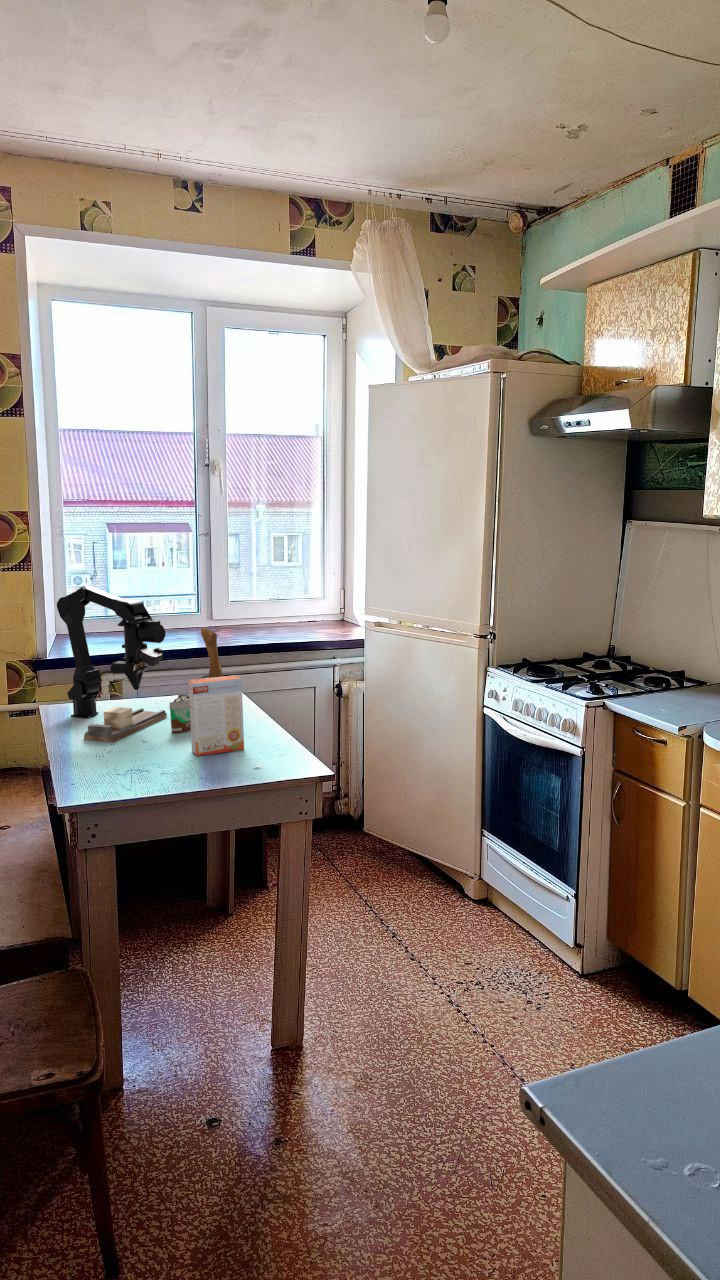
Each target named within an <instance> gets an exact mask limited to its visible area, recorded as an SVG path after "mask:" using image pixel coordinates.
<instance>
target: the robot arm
mask: <svg viewBox="0 0 720 1280" xmlns="http://www.w3.org/2000/svg"><path fill="white" fill-rule="evenodd" d="M90 603H93V604H95V605H99V606H101V607H104V608H106V609H109V610H111V611H113V612H114V613H115V615H116V616H117V617H119V618H120V619H121V621H120V622H119V623H117V626H118V627H123V635H124V636H123V639H124V641H123V643H124V644H121V649H124V657H122V660H118V661H115V662H112V663H111V664H110V665H109V668H110V671H109V672H110V673H116V674H117V673H118V674H124V675H125V676H126V678H127V680H128V681H129V682H130V685H131V686H132V688H133V690H134V691H138V690H139V689H140V685H141V681H142V677H143V675H144V672H145V671H146V670H148V669H149V667H155V666H156V665H160V661H161V659H163V658H164V655H163V649H162V648H160V647H155V648H154V649H152V648H151V649H150V648H148V644H147V643H154V644H155V643H156V644H161V643H163V642H164V640H165V638H166V630H165V627H164V626H163V625H162V624H161V620H153V618H152V616H151V615H150V613H149V612H148V610H147V608H146V607H145V605H144V602H143V601H142V600H140V599H134V598H124V597H119V596H117V595H116V594H115V595H114V594H113V593H109V592H106V591H104V590H102V589H99V588H96V587H95V586H93V585H88V586H87V585H86V586H81V587H79V588H78V589H77V590H76V591H73V592H71V593H69V594H67V595H65V596H62V597H60V598H59V599H58V601H57V602H56V608H57V609H56V610H57V612H58V614H59V617H60V619H61V620H62V621H63V622H64V623H65V625H66V627H67V632H68V637H69V642H70V648H71V651H72V656H73V661H74V665H75V670H74V673H73V676H72V683H73V685H72V686H71V688H70V689H69V690H68V692H67V698H68V699H69V700H72V706H73V714H71V715H70V718H79V719H80V718H81V719H89V718H92V717H94V716H97V715H99V712H98V711H97V702H96V700H95V696H99V692H100V689H101V687H102V682H103V679H102V677H101V671H100V669H99V668H97V669H96V668H95V667H94V665H93V664H92V661H91V655H90V652H89V646H88V642H87V637H86V633H85V628H84V626H85V625H84V619H85V615H86V606H87V605H89V604H90ZM146 664H147V665H146Z"/></svg>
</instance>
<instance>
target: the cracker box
mask: <svg viewBox="0 0 720 1280" xmlns="http://www.w3.org/2000/svg"><path fill="white" fill-rule="evenodd" d="M242 680H243V679H242V678H241V677H240V676H237V675H235V674H234V675H227V676H226V675H225V676H224V675H223V677H213V678H208V677H205V678H195V679H189V680H188V695H189V704H190V723H191V730H190V739H191V751H192V753H193V754H194V755H195V756H196V757H200V756H207V755H213V754H214V755H215V754H223V753H228V752H229V753H230V752H237V751H243V750H245V738H244V737H245V734H244V709H243V683H242Z"/></svg>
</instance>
